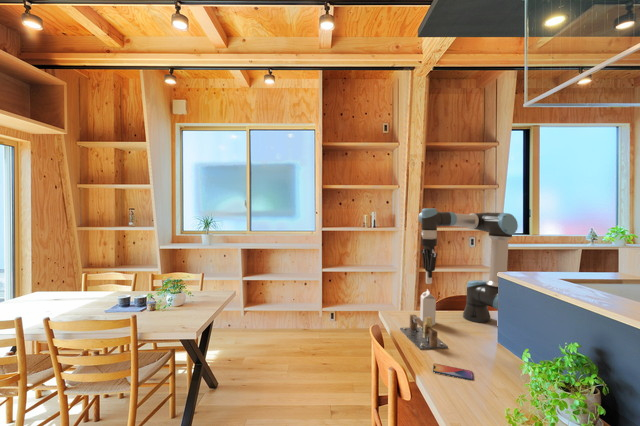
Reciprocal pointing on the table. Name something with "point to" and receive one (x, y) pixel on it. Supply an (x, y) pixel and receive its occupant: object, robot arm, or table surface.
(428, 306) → the milk carton
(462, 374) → the smartphone
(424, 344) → the flange plate
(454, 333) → the table surface
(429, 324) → the slider
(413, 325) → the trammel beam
